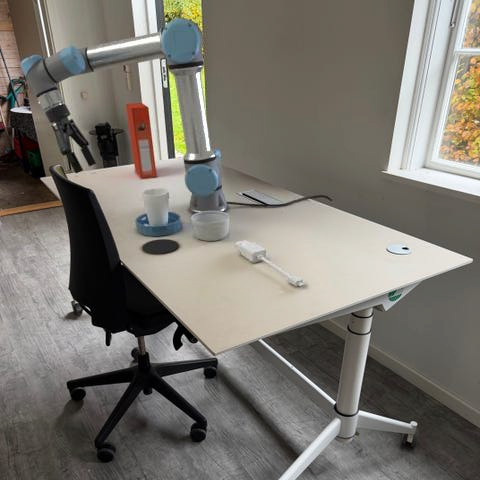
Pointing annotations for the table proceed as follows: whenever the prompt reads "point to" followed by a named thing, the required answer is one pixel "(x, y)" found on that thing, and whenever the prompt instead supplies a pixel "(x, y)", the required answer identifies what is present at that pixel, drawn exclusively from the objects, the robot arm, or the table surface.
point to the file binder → (141, 140)
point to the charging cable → (263, 258)
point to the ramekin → (210, 225)
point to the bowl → (146, 229)
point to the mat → (160, 246)
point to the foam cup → (156, 206)
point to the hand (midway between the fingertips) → (86, 168)
